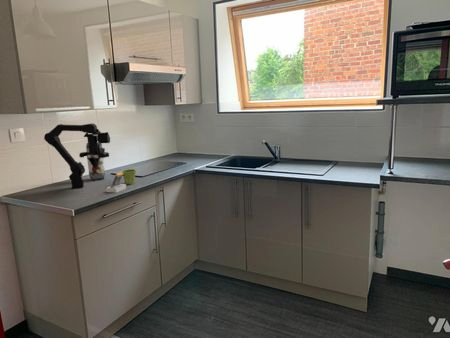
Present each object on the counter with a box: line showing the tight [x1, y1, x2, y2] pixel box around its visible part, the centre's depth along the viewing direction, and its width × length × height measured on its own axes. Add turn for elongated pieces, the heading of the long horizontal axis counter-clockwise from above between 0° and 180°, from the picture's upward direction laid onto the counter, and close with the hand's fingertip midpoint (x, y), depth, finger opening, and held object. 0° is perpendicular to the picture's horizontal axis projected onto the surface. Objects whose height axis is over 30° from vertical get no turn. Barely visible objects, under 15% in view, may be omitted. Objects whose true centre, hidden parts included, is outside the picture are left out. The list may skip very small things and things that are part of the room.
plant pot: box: [121, 169, 137, 185], centre depth 227 cm, size 9×9×9 cm
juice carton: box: [85, 141, 106, 181], centre depth 241 cm, size 9×10×27 cm
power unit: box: [106, 182, 127, 193], centre depth 212 cm, size 7×10×4 cm
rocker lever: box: [112, 172, 123, 186], centre depth 210 cm, size 2×5×8 cm, turn 162°
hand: (95, 168), depth 220 cm, fingers closed
